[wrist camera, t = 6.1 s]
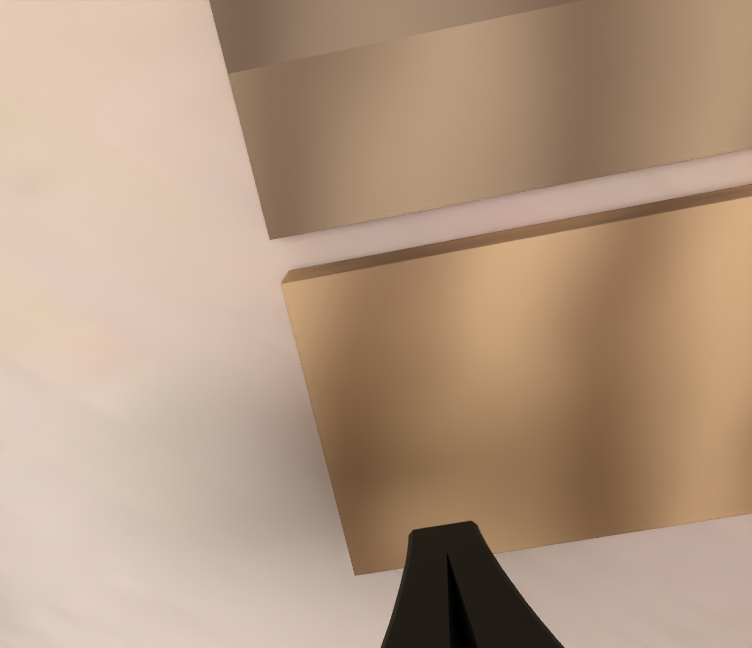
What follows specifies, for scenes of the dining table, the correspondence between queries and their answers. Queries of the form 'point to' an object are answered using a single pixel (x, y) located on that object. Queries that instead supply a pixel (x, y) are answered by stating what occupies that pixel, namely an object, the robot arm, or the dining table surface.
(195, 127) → the dining table surface
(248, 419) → the dining table surface
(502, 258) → the teak plank
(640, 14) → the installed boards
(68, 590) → the dining table surface
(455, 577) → the robot arm
